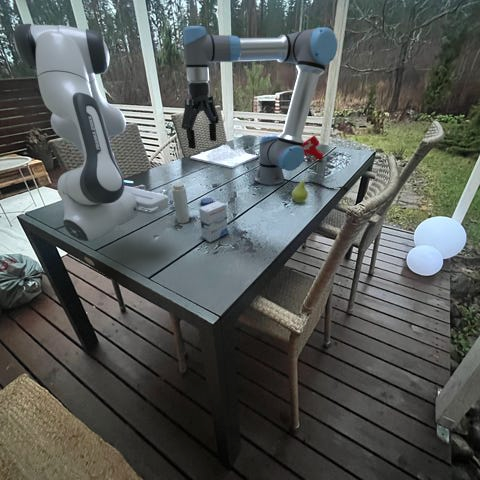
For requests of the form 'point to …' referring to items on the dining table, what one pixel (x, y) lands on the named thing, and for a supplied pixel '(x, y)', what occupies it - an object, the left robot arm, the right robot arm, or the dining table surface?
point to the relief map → (225, 156)
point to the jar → (180, 202)
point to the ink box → (213, 221)
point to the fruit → (300, 192)
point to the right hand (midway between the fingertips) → (203, 144)
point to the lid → (206, 201)
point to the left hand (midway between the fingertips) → (154, 189)
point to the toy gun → (312, 148)
